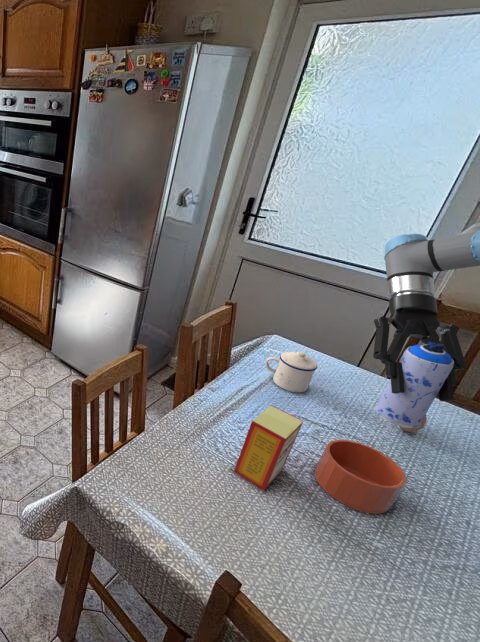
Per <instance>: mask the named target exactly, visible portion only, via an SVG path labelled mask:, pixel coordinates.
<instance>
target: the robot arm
mask: <svg viewBox="0 0 480 642" xmlns="http://www.w3.org/2000/svg"><path fill="white" fill-rule="evenodd" d="M383 260H384V263H385V271H386V283H387V284H386V285H387V294H388V295H387V296H388V307H389V314H390V316H387V317H386V316H384V315H381V316H379V317H377V318H375V319H374V320H373V323H374V326H375V328H376V330H375V338H374V346H373V354H372V356H373V358H374V359H375V360H380V362H381V363H382V364H383V365H384V368H385V375H386V377H387V378H391V389H392V393H395V394H397V393H402V392H405V391H404V381H403V370H402V363H401V362H399V361H398V359H399V357H400V354H401V353H402V350H403V348H404V346H405V344H406V342H407V339H408V338H411V337H413V338H416V339H419V340H420V342H421V343H423V344H428V342H429V341H435V342H439V343H442V344H443V345H444V346H443V348H442V349H443V350H444V351H445V352H447V353H448V354H449V355H450V356H451V358H452V359H453V360H454V366H453V368H452V370H451V372H450V373H449V375H448V377H447V378H446V380H445V382H444V384H443V385H442V387H441V389H440V391H439V392H438V400H439V402H450V401H455V397H454V389H453V387H454V386H456V385H457V378H456V371H459V370H464V369H467V368H468V366H467V363H466V360H465V359H466V358H465V357H464V353H463V350H462V347H461V344H460V341H459V338H458V335H457V333H458V326H457V325H456V324H450V325H449V324H445V323H442V322H441V321H440V320H439V318H438V317H437V316H438V305H437V299H436V295H437V293H436V287H435V281H434V273H439V272H445V271H453V270H460V269H466V268H475V267H480V222H477V223H474V224H472V225H470V226H468V227H467V228H466V229H464V230H463V231H461V232H460V233H458V234H453V235H450V236H445V237H441V238H436V239H435V238H433V239H429V237H427V236H426V235H425V234H421V233H409V234H407V233H406V234H405V233H404V234H399V235H396V236H393V237H391V238H389V239H388V240H387V241H386V242H385V244H384V256H383ZM391 325H392V326H393V328H395V332H394V333H393V336H392V337H393V339H392V340H391V343H390V344H389V337H390V326H391ZM437 330H438V332H437ZM439 335H440V336H439ZM440 338H441V341H440ZM388 345H389V346H388Z"/></svg>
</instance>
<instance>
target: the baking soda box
mask: <svg viewBox="0 0 480 642" xmlns="http://www.w3.org/2000/svg"><path fill="white" fill-rule="evenodd" d="M303 423H304V420H303V419H301V418H299V417H296V416H294V415H293V414H291V413H288V412H286V411H284V410H282V409H281V408H278V407H277V406H274V405H272V404H270V405H269V406H268V407H267V408H265V409H264V410H263V411H262V412H261V413H260V414H259V415H257V416H256V417H255V418H254V419H253V420H252V421H251V423H250V426H249V429H248V431H247V434H246V437H245V439H244V442H243V445H242V447H241V450H240V453H239V456H238V458H237V461H236V464H235V467H234V469H233V472H235V474H237V475H239V476H241V477H242V478H244V479H245V480H246V481H248V482H250V483H251V484H252V485H254V486H256V487H257V488H259V489H260V490H261V491H265V490H267V488H268V487H269V486H270V485H271V483H272V482H273V481H274V480H275V479H276V478H277V477H278V476H279V475H280V474H281V472H283V470H284V467H285V464H287V460H288V458H289V456H290V453H291V451H292V449H293V447H294V444H295V443H296V442H295V441H296V440H297V437H298V436H299V433H300V430H301V428H302V425H303Z"/></svg>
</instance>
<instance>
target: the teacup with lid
mask: <svg viewBox="0 0 480 642" xmlns="http://www.w3.org/2000/svg"><path fill="white" fill-rule="evenodd" d="M270 361H275V362H277V363H278V364H277V365H276V369H275V368H272V367H271V366H270V365H269V362H270ZM264 362H265V367H266V369H267V370H268V371H269V372H271V373H274V374H273V377H272V380H273V383H274V384H276V385H277V386H278V387H279V388H281V389H283V390H285V391H288V392H292V393H298V394H299V393H305V392H306V391H308V388H309V386H310V383H311V381H312V379H313V376H314V374H315V371H316V370H317V369H318V363H317V362H316V361H315V360H314V358H312V357H310V356H308V355H307V354H306V352H304V351H301V350H299V351H284V352H282V353H281V354H280V355H279V358H278V357H274V356H270V357H267V358H266V360H265V361H264Z"/></svg>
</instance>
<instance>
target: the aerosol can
mask: <svg viewBox="0 0 480 642" xmlns="http://www.w3.org/2000/svg"><path fill="white" fill-rule="evenodd" d="M443 347H444V345H443V342H441V343H439V342H435V341H429V342H428V344H425V343H423V344H414V345H410V346H408V347H407V348H406V349H404V351H403V353H402V355H401V357H400V359H399V360H398V362H401V363H402V370H403V381H404V391H405V392H402V393H397V394H395V393H392V389H391V377H389V378H390V379H389V380H388V383H387V385H386V386H385V388H384V390H383V392H382V394H381V396H380V398H379V400H378V402H377V404H375V405H374V407H373V411H374V412H375V414H376V415H377V416H379V417H380V418H381V419H383V420H384V421H386V422H388V423H390V424H392V425H394V426H398V427H399V426H401V427H405V428H411V429H412V428H418V427H420V426H421V423H422V422H421V421H422V420H423V418H424V416H425V415H426V416H427V414H428V411H429V410H430V408H431V406H432V404H433V403H434V401H435V399H436V397H438V396H437V395H439V393H438V392H439V391H440V389H441V387H442V385H443V384H444V382H445V380H446V378H447V377H448V375H449V373H450V372H451V370H452V368H453V366H454V360H453V359H452V358H451V356H450V355H449V354H448V353H447V352H445V351H444V350H443V349H442V348H443Z"/></svg>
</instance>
